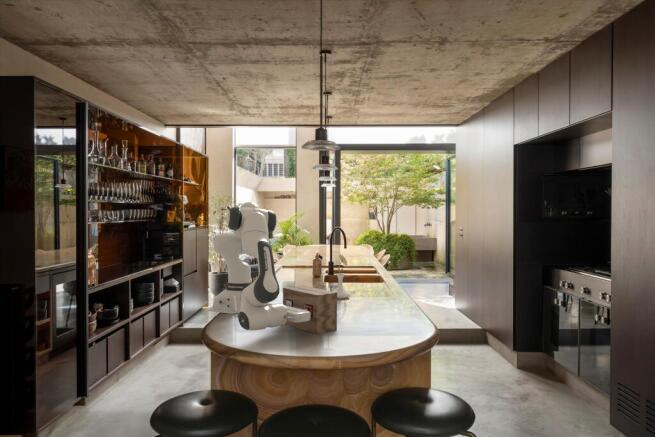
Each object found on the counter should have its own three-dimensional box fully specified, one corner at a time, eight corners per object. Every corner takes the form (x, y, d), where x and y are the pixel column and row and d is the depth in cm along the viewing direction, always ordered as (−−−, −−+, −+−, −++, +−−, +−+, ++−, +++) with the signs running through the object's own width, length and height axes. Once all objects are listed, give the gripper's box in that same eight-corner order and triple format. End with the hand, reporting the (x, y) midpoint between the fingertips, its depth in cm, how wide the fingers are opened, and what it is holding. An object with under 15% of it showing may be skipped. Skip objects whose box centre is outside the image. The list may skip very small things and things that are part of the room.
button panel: (316, 334, 207) (316, 295, 206) (282, 323, 225) (283, 287, 225) (336, 330, 214) (337, 292, 213) (302, 320, 232) (302, 285, 232)
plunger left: (291, 310, 219) (291, 301, 219) (286, 309, 223) (286, 299, 222) (306, 308, 224) (306, 299, 224) (300, 307, 228) (300, 297, 228)
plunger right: (310, 316, 208) (310, 306, 208) (303, 314, 211) (303, 304, 211) (324, 314, 213) (325, 304, 213) (318, 312, 216) (318, 302, 216)
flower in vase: (350, 300, 283) (351, 255, 282) (330, 299, 283) (330, 255, 282) (349, 295, 296) (350, 253, 295) (330, 295, 296) (330, 253, 296)
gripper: (293, 311, 192) (321, 306, 201) (263, 303, 208) (290, 299, 217) (293, 327, 192) (321, 322, 201) (263, 318, 208) (290, 314, 217)
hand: (305, 310), depth 209 cm, fingers closed
